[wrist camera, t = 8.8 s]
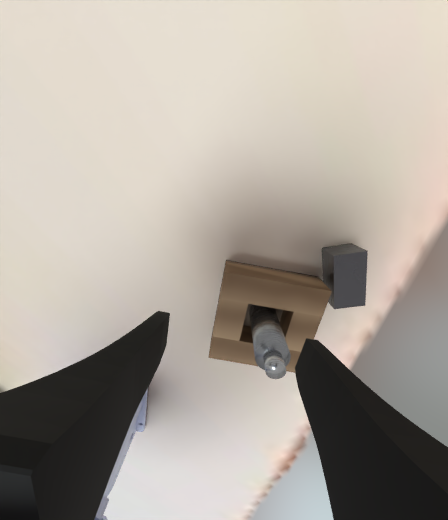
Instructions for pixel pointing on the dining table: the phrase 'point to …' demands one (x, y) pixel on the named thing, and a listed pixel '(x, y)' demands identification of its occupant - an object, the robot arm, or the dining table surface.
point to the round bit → (269, 341)
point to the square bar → (345, 275)
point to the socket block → (268, 295)
